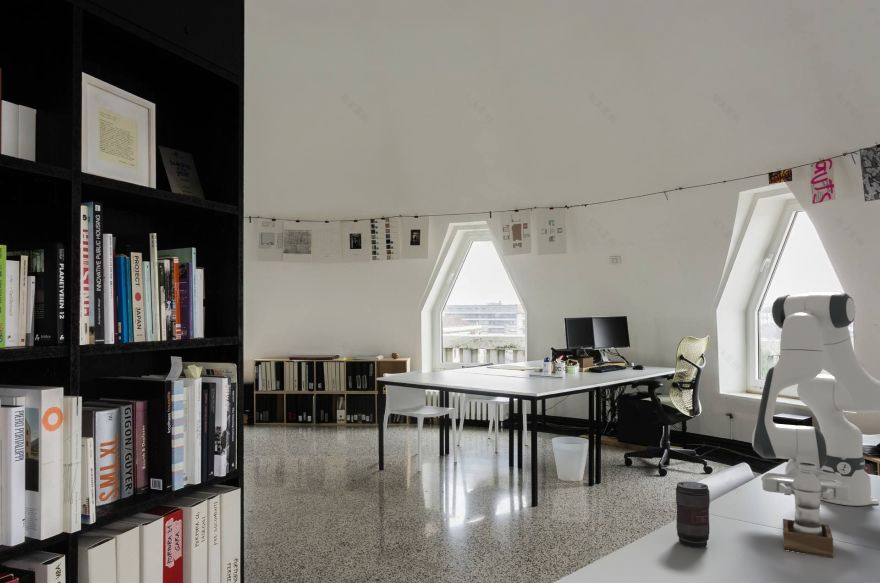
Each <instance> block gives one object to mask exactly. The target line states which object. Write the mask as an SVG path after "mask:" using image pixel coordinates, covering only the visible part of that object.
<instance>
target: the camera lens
mask: <svg viewBox="0 0 880 583" xmlns="http://www.w3.org/2000/svg"><path fill="white" fill-rule="evenodd" d="M710 496H711V495H710V489H709V485H708V484H705V483H702V482H697V481H679V482H676V487H675V504H676V533H677V534H676V535H677V537H678V542H679V543H680V544H681V545H682V546H684V547H687V548H692V549H701V548H702V547H703V548H705V546H706V547H707V545H708V541H709V539H710V502H711V501H710ZM703 548H702V549H703Z"/></svg>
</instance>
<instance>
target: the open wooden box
mask: <svg viewBox="0 0 880 583" xmlns="http://www.w3.org/2000/svg"><path fill="white" fill-rule="evenodd" d="M794 522H795V519H788V518H783V519H782V537H783V538H782V539H783V540H784V541H783V551H784V550H789V551H788V552H790V551H794V552H793V553H797V552H799V553H798V554H803V553H804V554H805V555H811V556H817V557H823V558H831V559H834V538H833V534H832V532H831V531H832V530H831V528H830V524H823V523H821V527H822V532H823V537H822V536H815V535H808V534H801V533H794V532H793V525H794Z"/></svg>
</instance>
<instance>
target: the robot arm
mask: <svg viewBox="0 0 880 583" xmlns="http://www.w3.org/2000/svg"><path fill="white" fill-rule="evenodd" d="M856 310H857V309H856V305H855V302H854V299H853V298H852V297H851V295H849V294H848V293H845V292H840V291H834V292H821V291H820V292H818V291H817V292H808V293H807V292H806V293H800V294H792V295H790V294H786V295H783V296H779V297H777V298H776V299H775V300H774V302H773V304H772V308H771V316H772V319H773V322H774V323H775V325H776V326H777V327H778V328H779V329H781V334H780V344H779V346H780V348H779V350H780V351H779V358H778V360H777V362H776V363H775V365H774V366H772V367H770V368H769V369H768V370H767V373H766V377H765V380H764V385H763V387H762V394H761V399H760V403H759V408H758V414H757V421H756V423H755V426H754V428H753V431H752V435H751V445H752V448H753V451H754V452H756V453H757V454H758V455H759V456H760V457H761V458H763V459H783V460H788V461H787V462H786V465H785V468H784V470H785V471H784V474H783V473H776V472H767V473H766V472H765V473H764V474H763V475H762V476H761V481H762V490H763V491H765V492H769V493H777V494H784V495H785V496H791V495H794V491H793V484H792V483H793V480H794V479H795V477H796V476H797V475H798V474H799V473H800V471H798V469H799V463H812V464H815V465H816V473H815V475H816V477H817V478H818V479H819V481H820V483H821V485H822V493H821V499H820V501H823V502H824V501H825V502H827V503H832V504H837V505H843V506H844V505H845V506H856V507H857V506H859V507H860V506H868V505H879V500H878V499H877V498H876V497H874V496H873V495H872V483H871V482H872V480H871V476H870V475H869V474H868V473H867V471H865V467H866V466H865V465H866V461H865V456H864V453H863V452H864V451H863V450H864V448H863V446H864V444H863V443H864V442H863V433H862V430H860V428H859V427H858V426H857V425H856V424H853V423H852V422H850V421H849V420H848V419H847V417H845V414H844V412H851V413H857V414H874V413H875V414H876V413H880V380H878V379H877V378H875V377H874V376H872V375H871V374H870V373H869V372H867V370H866V369H865V368H864V367H863V366H862V365H861V364H860V362H859V360H858V359H857V357H856V354H855V350H854V347H853V344H852V343H853V342H852V340H851V334H850V331H849V326H850V325H851V324H852V323H854V321H855V316H856ZM823 370H824V371H826V372H827V373H828V374H822V373H821V372H822V371H823ZM796 385H797V386H796ZM793 386H796V392H797V396H798V398H799V400H800V401H801V403H803V404H804V405H805V406H806V407H808V409H809V410H810V411H811V412H812V413H813V415H814V417H815V418H816V420H817V423H818V426H819V429H818V428H817V427H815V426H810V425H808V426H807V425H800V424H799V425H795V424H794V425H793V424H782V423H781V424H780V423H776V422H774V421H773V420H774V414H775V409H776V404H777V400H778V399H777V398H778V396H779V394H780V393H781V392H782V391H783V390H785V389H787V388H789V387H793Z"/></svg>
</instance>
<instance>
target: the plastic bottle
mask: <svg viewBox="0 0 880 583" xmlns="http://www.w3.org/2000/svg"><path fill="white" fill-rule="evenodd" d="M798 471H800V473H799V474H798V475H797V476H796V477H795V479H794V480H793V483H792V484H793V491H794V494H793V496H794V506H795V509H794V520H795V522H794V525H793V532H794V533H801V534H808V535H815V536H822V537H823V532H822V527H821V524H822V523H821V514H820V510H821V509H820V508H821V493H822V485H821V483H820V481H819V479H818V478H817V477H816V475H815V473H816V465H815V464H812V463H799V469H798Z"/></svg>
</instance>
